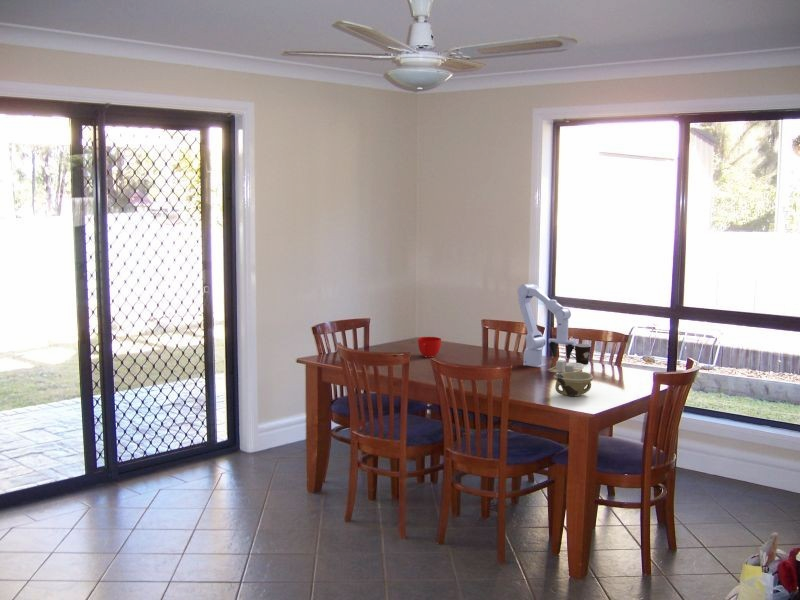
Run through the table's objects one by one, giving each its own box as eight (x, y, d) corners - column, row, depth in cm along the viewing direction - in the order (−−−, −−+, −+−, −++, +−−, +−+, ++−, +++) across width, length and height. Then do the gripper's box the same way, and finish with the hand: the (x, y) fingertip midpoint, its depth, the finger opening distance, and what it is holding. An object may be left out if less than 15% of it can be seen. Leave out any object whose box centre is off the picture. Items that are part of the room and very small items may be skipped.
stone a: (555, 370, 417) (556, 361, 416) (559, 368, 420) (560, 359, 420) (562, 371, 415) (562, 362, 414) (566, 369, 418) (566, 360, 417)
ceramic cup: (411, 358, 444) (412, 341, 443) (422, 353, 460) (422, 336, 458) (433, 361, 439) (434, 343, 438) (444, 355, 455) (444, 337, 454)
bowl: (586, 389, 379) (587, 370, 378) (596, 400, 361) (597, 379, 360) (549, 390, 378) (550, 370, 377) (558, 400, 361) (558, 379, 359)
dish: (562, 368, 422) (562, 364, 422) (570, 365, 429) (570, 361, 429) (578, 371, 417) (578, 367, 416) (586, 368, 424) (586, 364, 424)
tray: (547, 372, 415) (547, 369, 414) (557, 368, 423) (557, 365, 423) (572, 376, 406) (572, 373, 406) (582, 372, 415) (582, 369, 414)
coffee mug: (589, 362, 439) (589, 344, 438) (591, 365, 431) (592, 347, 429) (567, 361, 440) (568, 343, 439) (569, 364, 432) (569, 346, 430)
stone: (564, 373, 409) (565, 365, 409) (566, 372, 413) (566, 364, 412) (572, 374, 408) (573, 366, 407) (574, 372, 411) (574, 365, 410)
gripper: (546, 331, 416) (545, 357, 418) (571, 334, 407) (570, 360, 409) (552, 329, 421) (551, 354, 423) (577, 332, 413) (577, 358, 414)
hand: (561, 357), depth 416 cm, fingers open, 7 cm apart
